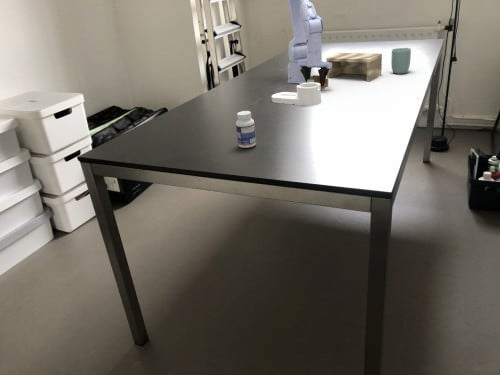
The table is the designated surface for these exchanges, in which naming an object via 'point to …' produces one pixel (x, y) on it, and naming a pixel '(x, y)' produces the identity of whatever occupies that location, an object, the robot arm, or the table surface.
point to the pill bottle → (245, 129)
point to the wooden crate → (356, 64)
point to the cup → (400, 60)
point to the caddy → (317, 80)
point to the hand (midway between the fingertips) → (315, 85)
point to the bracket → (300, 95)
